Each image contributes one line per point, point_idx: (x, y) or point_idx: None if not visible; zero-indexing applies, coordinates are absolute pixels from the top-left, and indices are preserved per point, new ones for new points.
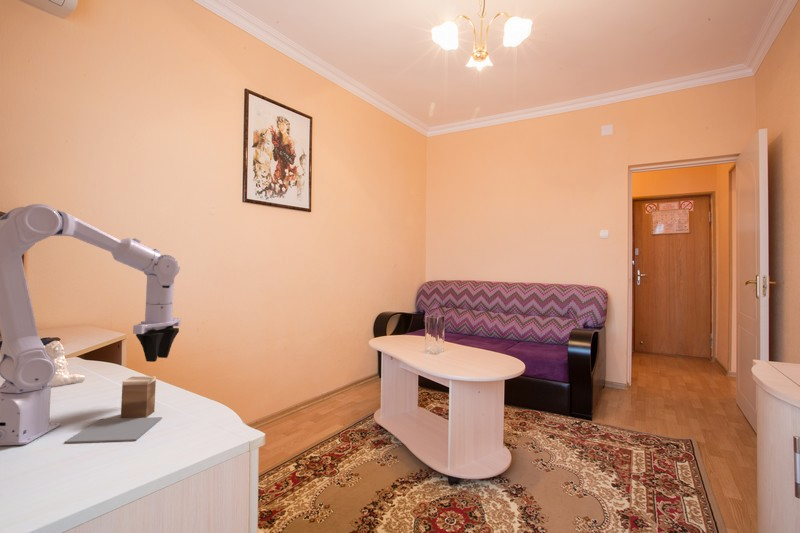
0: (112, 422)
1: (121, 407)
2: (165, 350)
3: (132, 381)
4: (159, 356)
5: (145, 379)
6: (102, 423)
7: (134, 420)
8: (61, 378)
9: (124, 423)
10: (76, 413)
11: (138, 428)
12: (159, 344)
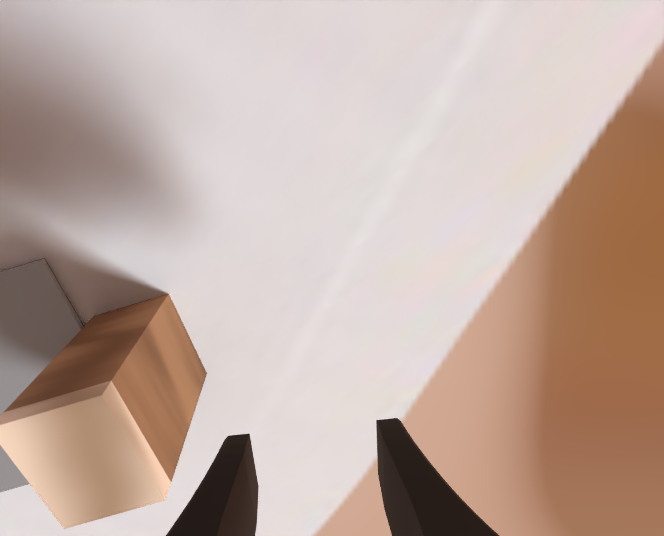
0: (32, 334)
1: (70, 342)
2: (392, 522)
3: (21, 469)
4: (379, 436)
5: (86, 498)
6: (6, 309)
7: None
8: None
9: None
10: (59, 62)
11: None
12: (409, 526)
